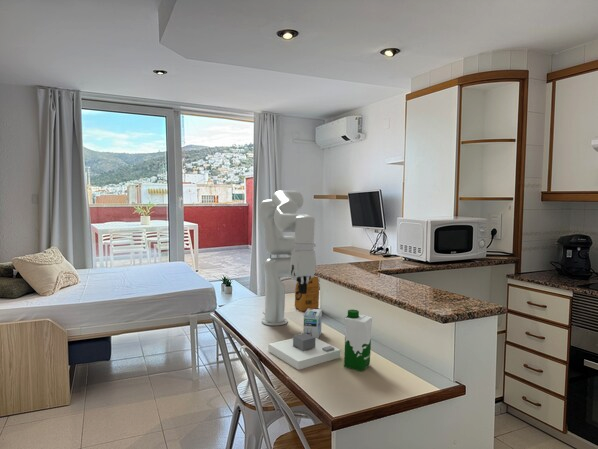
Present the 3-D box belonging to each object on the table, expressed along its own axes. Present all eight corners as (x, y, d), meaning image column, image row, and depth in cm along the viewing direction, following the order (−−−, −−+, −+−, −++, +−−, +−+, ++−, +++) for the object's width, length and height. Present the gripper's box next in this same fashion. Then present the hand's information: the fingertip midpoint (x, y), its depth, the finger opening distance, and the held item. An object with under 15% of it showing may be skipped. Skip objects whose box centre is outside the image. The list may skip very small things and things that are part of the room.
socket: (268, 351, 155) (268, 341, 155) (308, 341, 167) (308, 332, 166) (298, 369, 139) (298, 359, 138) (340, 357, 151) (340, 347, 150)
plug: (292, 352, 153) (293, 335, 153) (305, 348, 157) (305, 332, 157) (302, 357, 148) (303, 340, 148) (315, 354, 152) (315, 337, 151)
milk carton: (350, 358, 149) (352, 307, 148) (373, 364, 145) (375, 311, 143) (340, 366, 142) (342, 312, 141) (363, 373, 137) (365, 317, 136)
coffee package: (292, 307, 219) (293, 268, 217) (311, 305, 225) (312, 267, 223) (301, 312, 210) (302, 271, 209) (320, 309, 216) (321, 269, 215)
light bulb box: (318, 340, 168) (318, 315, 168) (302, 339, 170) (303, 314, 169) (321, 332, 179) (322, 309, 178) (307, 331, 180) (307, 307, 179)
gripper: (313, 244, 161) (311, 288, 162) (282, 247, 152) (281, 293, 154) (325, 247, 155) (323, 292, 156) (294, 249, 146) (292, 298, 148)
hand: (302, 293), depth 155 cm, fingers closed
